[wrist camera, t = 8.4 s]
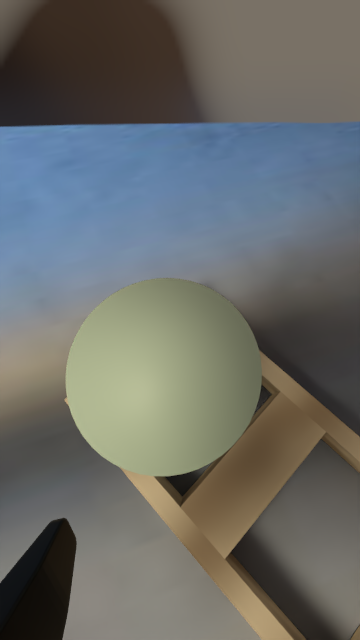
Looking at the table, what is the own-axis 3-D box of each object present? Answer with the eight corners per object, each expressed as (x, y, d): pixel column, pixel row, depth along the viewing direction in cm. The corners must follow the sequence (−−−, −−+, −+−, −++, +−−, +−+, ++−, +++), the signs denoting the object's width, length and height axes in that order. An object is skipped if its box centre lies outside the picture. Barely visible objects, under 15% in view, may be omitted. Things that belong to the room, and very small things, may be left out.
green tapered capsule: (226, 427, 17) (290, 448, 5) (162, 442, 17) (74, 499, 5) (210, 363, 19) (230, 261, 7) (150, 377, 19) (58, 300, 6)
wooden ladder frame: (498, 572, 14) (543, 595, 13) (385, 767, 13) (418, 829, 11) (185, 297, 20) (184, 285, 19) (78, 401, 19) (64, 400, 17)
